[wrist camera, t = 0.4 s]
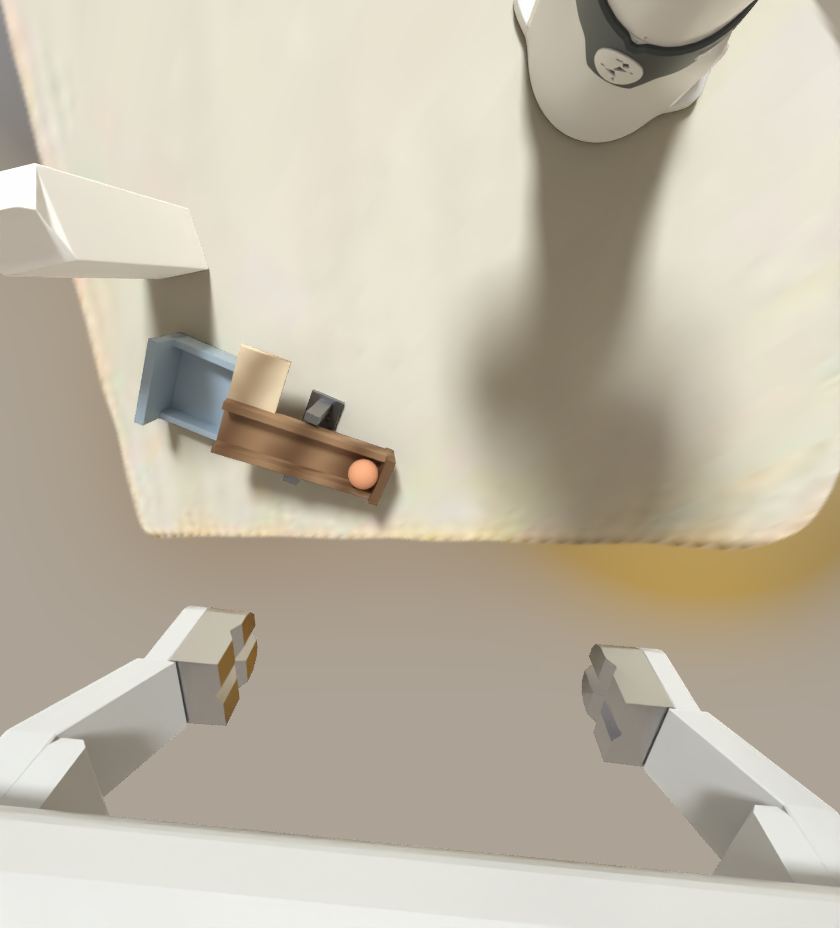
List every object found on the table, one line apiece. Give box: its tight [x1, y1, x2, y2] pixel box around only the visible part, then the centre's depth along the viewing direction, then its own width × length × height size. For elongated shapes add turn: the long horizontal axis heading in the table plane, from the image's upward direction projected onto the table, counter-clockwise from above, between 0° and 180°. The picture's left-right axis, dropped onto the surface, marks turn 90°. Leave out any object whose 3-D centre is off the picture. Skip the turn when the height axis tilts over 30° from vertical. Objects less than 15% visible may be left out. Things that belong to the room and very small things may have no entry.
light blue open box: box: [134, 333, 237, 441], centre depth 50 cm, size 10×9×6 cm
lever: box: [211, 344, 396, 506], centre depth 48 cm, size 19×12×4 cm, turn 67°
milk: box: [0, 163, 209, 279], centre depth 37 cm, size 6×6×22 cm
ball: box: [348, 459, 379, 489], centre depth 50 cm, size 4×4×4 cm
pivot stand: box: [283, 390, 344, 485], centre depth 52 cm, size 4×10×7 cm, turn 157°
